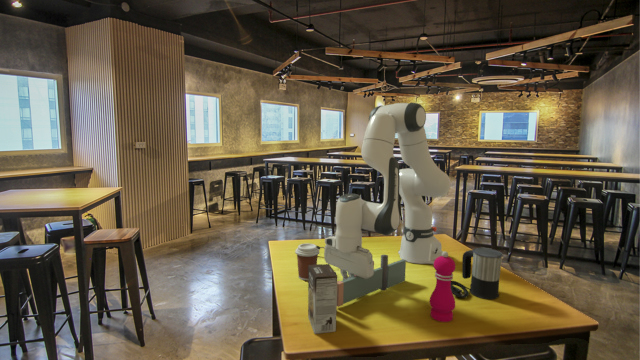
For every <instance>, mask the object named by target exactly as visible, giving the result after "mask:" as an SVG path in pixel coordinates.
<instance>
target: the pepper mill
mask: <svg viewBox="0 0 640 360" xmlns="http://www.w3.org/2000/svg"><path fill="white" fill-rule="evenodd" d="M433 268H434V270H435V272H434V273H435V274H434V278H435V280H436V282H435V287H434V290H433V291H432V292H431V295H430V296H429V305H430V307H431V308H430V317H431V318H432V319H433V320H435V321H438V322H441V323H449V322H451V321H453V318H454V313H453V310H455V308H456V299H455V295H454V294H452V291H451V281H453V280H454V274H453V273H454V272H455V271H456V262H455V261H454V259H453V258H452V257H449V252H448V251H446V250H445V251H443V253H442V256H440V257H437V258H436V259H435V261H434V264H433Z"/></svg>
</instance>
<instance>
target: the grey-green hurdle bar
mask: <svg viewBox="0 0 640 360" xmlns="http://www.w3.org/2000/svg"><path fill="white" fill-rule="evenodd" d="M382 274H383V268H381V267H377V268H374V274H373V276H372V277H370V278H368V279H364V278H361V277H359V276H355V277H352V278H349V279H346V280H343V279H342V280H337V307H341V306H343V305H344V304H348V303H349V302H352V301H354V300H356V299H359V298H361V297H364V296H367V295H369V294H371V293H373V292H376V291H378V290H380V289H381V288H382Z"/></svg>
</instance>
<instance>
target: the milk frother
mask: <svg viewBox="0 0 640 360" xmlns="http://www.w3.org/2000/svg"><path fill="white" fill-rule="evenodd" d="M503 255H504V254H503V253H502V252H501V251H499V250H496V249H492V248H488V247H476V248H475V247H474V248H473V249H470V250H466V251H465V252H463V255H462V264H461V267H462V269H461V271H462V273H461V274H462V275H461V277H462V278H463V279H465V280H466V279H470V278H471V279H470V285H469V287H470V288H469V287H467V286H465V285H464V284H462V283H460V282H459V281H455V280H451V291H452V294H453V296H454V297H458V298H461V299H465V298H467V297H469V295H470V294H471V295H473V296H475V297H477V298H481V299H485V300H496V299H498V298H499V297H500V294H499V292H500V289H499V288H500V287H499V286H500V276H501V268H502V260H503V259H502V257H503ZM468 290H469V291H468ZM462 291H463V292H464V293H462ZM469 293H470V294H469Z"/></svg>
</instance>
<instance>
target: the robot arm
mask: <svg viewBox="0 0 640 360" xmlns="http://www.w3.org/2000/svg"><path fill="white" fill-rule="evenodd" d="M426 120H427V113H426V110H425V108H424V106H423V105H422V104H420V103H418V102H409V103H408V102H396V103H392V104H386V105H378V106H375V107H373V108H372V109H371V112H370V113H369V116H368V122H367V123H368V124H367V125H366V128H365V132H364V136H363V138H362V139H363V141H362V144H361V149H360V152H361V157H362V160H363V161H364V162H365V164H366V165H368V166H369V167H370V168H371V169H374V170H376V172H379V173H380V175H382V177H383V184H384V185H383V202H382V203H377V202H371V201H366V200H364V199H362V197H361V195H360V194H356V193H344V194H342V195H340V196H339V197H338V199H337V202H336V209H335V224H336V225H335V226H336V228H335V229H336V230H335V235H331V236H329V237H326V238H324V248H325V249H324V250H323V253H324V254H323V256H324V261H325V263H326V264H329V265H330V266H333V267H336V268H338V269H340V270H339V271H340V275H341V276H342V281H343V280H346V279H349V278H352V277H354V276H355V275H357V276H359V277H361V278H364V279H368V278H370V277H372V276H373V274H374V269H375V267H374V266H373V261H374V260H373V253H372V252H371V251H370V250H369V249H368V248H364V247H363V246H362V245H363V232H362V230H365V231H370V232H375V233H377V234H381V235H383V236H389V235H391V234H393V233H394V232H395V231H396V230H398V229H399V227H400V222H401V213H400V212H401V211H400V198H401V199H402V202H403V206H404V214H405V215H404V225H403V229H402V230H403V235H402V236H401V242H400V250H398V253H397V254H398V255H399V258H400V260H402V259H404V260H406V262H408V263H412V264H421V265H423V264H428V265H434V261H435V259H436V258H437V257H440V256H442V253H443V252H444V251H443V250H442V242H441V241H440V240H439V239H438V238H437V237H436V236H435V235H434V234H435V233H436V232H437V229H438V227H437V226H432V222H433V211H432V207H430V205H428V204H427V203H426V202H425V201H424V199H423V197H429V198H438V197H439V198H440V197H441V198H442V197H445V196H446V195H448V193H449V192H450V189H451V186H452V184H451V179H450V177H449V175H448V174H447V173H446V172H444V171H443V170H442V169H440V167H438V165H437V164H436V163H435V162H434V160H433V158H432V156H431V153H430V148H429V145H428V140H427V139H428V138H427V134H426V133H427V132H426V129H425V124H426ZM396 134H397V140H398V141H397V142H398V145H399V146H398V147H399V152H400V156H401V160H402V161H403V163H404V164H406V165H407V166H408V167H409V168H401V169H400V164H399V161H398V160H397V159H396V158H395V155H394V148H395V147H394V146H395V141H396Z"/></svg>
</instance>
